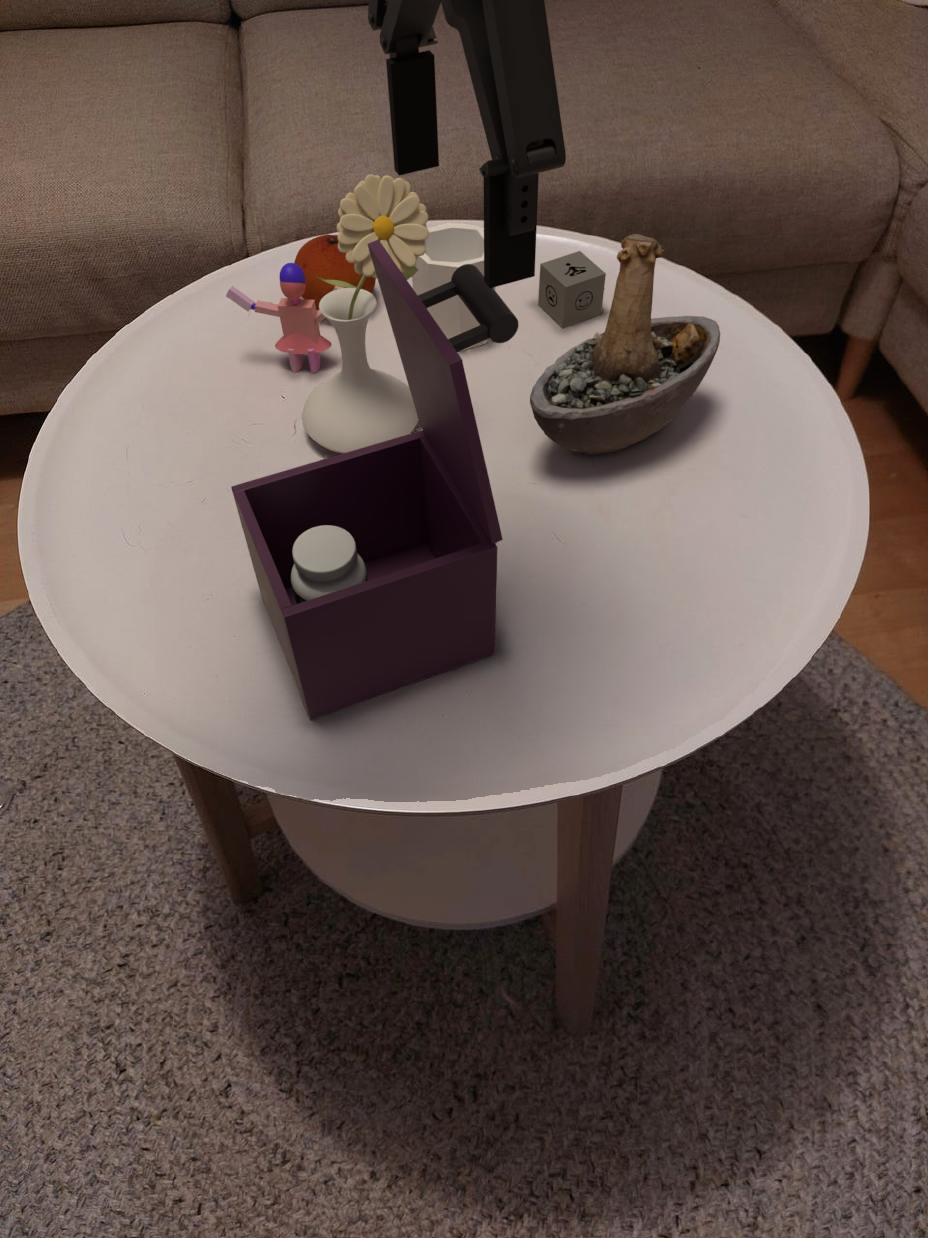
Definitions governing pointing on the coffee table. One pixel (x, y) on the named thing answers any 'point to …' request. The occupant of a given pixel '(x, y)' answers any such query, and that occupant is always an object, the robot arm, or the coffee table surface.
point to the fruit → (327, 268)
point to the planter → (625, 366)
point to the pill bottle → (325, 563)
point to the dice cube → (571, 289)
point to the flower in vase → (360, 396)
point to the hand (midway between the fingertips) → (460, 220)
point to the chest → (374, 571)
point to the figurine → (292, 318)
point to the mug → (449, 272)
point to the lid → (446, 370)
